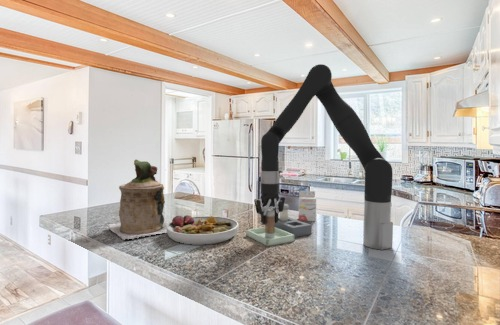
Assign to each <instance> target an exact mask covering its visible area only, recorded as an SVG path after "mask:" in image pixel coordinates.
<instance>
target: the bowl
mask: <svg viewBox="0 0 500 325" xmlns="http://www.w3.org/2000/svg"><path fill="white" fill-rule="evenodd" d="M168 223H169V224H168V225H167V233H166V234H167V235H168V237H169V238H170V239H171V240H172V241H174V242H177V243H179V242H180V244H183V243H184V245H190V244H192V245H194V246H195V245H196V246H197V245H198V246H203V245H205V244H206V245H212V244H213V245H214V244H220V243H222V242H225V241H229V240H230V239H231V238H234V237H235V235H236V234H237V233H238V231H239V223H238V221H237V220H235V219H233V218H228V217H224V216H214V215H210V216H203V215H202V216H193V217H192V216H191V215H187V214H186V215H184V216H182V215H176V216H175V217H173V218H172V220H171V222H168ZM192 245H191V246H192Z"/></svg>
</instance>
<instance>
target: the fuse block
mask: <svg viewBox="0 0 500 325" xmlns="http://www.w3.org/2000/svg"><path fill="white" fill-rule="evenodd" d="M275 227H276V228H279V229H281V230H284V231H286V232H289V233H291V234H294V235H295V238H297V237H303V236H308V235H312V233H313V232H312V230H313V229H312V224H310V223H307V222H306V221H299V219H296V218H292V217H289V216H288V221H285V222H282V221H280V216H278V222H277V223H275Z"/></svg>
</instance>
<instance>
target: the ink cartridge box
mask: <svg viewBox="0 0 500 325" xmlns="http://www.w3.org/2000/svg"><path fill="white" fill-rule="evenodd" d="M298 193H299V194H298V196H299V197H298V220H299V221H302V222H317V197H315V196H316V191H314V190H313V191H311V190H300V191H299V192H298Z"/></svg>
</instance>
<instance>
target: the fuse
mask: <svg viewBox="0 0 500 325" xmlns="http://www.w3.org/2000/svg"><path fill="white" fill-rule="evenodd" d="M289 208H290V207H289V204H287V203H284V207H283V211H282V212H279V217H280V221H282V222H285V221H288V217H289V213H290V212H289V211H290V210H289Z"/></svg>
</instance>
